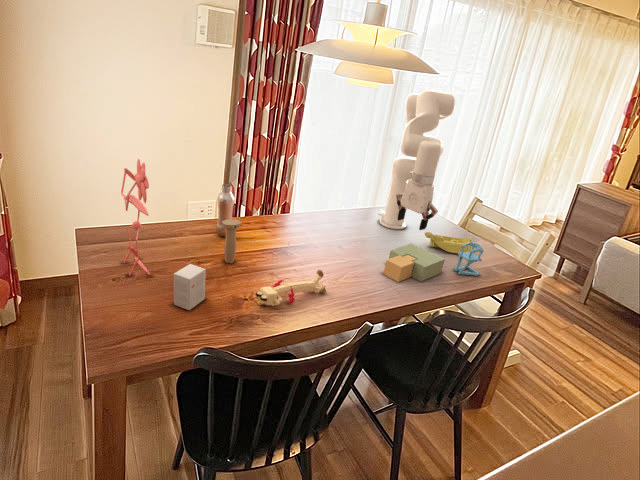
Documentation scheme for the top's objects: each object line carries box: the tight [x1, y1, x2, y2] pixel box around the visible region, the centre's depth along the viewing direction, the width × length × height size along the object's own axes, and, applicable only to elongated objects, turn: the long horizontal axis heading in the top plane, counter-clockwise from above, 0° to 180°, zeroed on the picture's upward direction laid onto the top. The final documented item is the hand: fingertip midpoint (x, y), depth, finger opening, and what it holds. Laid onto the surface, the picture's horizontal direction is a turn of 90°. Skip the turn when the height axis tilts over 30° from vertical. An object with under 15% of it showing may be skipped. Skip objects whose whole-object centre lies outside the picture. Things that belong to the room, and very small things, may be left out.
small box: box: [173, 263, 207, 311], centre depth 139 cm, size 8×6×10 cm
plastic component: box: [424, 231, 472, 255], centre depth 208 cm, size 20×7×10 cm
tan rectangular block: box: [382, 255, 416, 283], centre depth 178 cm, size 7×12×6 cm, turn 135°
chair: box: [454, 242, 484, 277], centre depth 187 cm, size 8×8×12 cm
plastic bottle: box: [215, 183, 235, 237], centre depth 183 cm, size 6×7×20 cm
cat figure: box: [254, 269, 327, 307], centre depth 150 cm, size 10×9×25 cm
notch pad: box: [388, 243, 446, 282], centre depth 184 cm, size 16×14×6 cm
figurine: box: [120, 158, 172, 277], centre depth 148 cm, size 15×26×35 cm, turn 30°
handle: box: [222, 218, 242, 264], centre depth 165 cm, size 5×6×15 cm
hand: (411, 224), depth 173 cm, fingers open, 9 cm apart
